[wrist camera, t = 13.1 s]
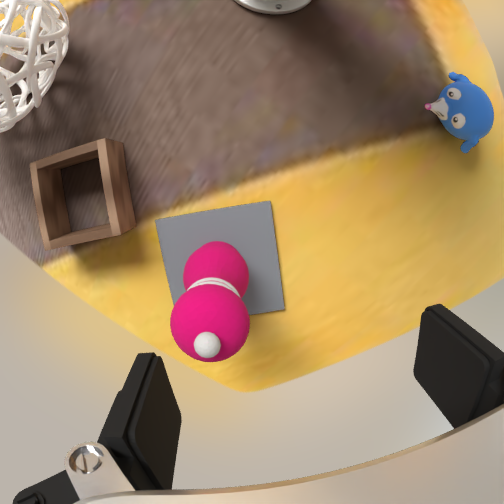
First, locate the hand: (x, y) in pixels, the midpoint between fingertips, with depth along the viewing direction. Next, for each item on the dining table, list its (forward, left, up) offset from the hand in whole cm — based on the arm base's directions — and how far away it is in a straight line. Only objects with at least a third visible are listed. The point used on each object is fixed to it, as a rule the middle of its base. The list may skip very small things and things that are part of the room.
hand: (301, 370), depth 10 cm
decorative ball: (-28, -27, -30) cm, 49 cm away
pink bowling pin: (+4, -5, -29) cm, 30 cm away
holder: (-8, -19, -29) cm, 36 cm away
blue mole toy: (-13, +30, -30) cm, 44 cm away
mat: (+4, -4, -29) cm, 30 cm away
